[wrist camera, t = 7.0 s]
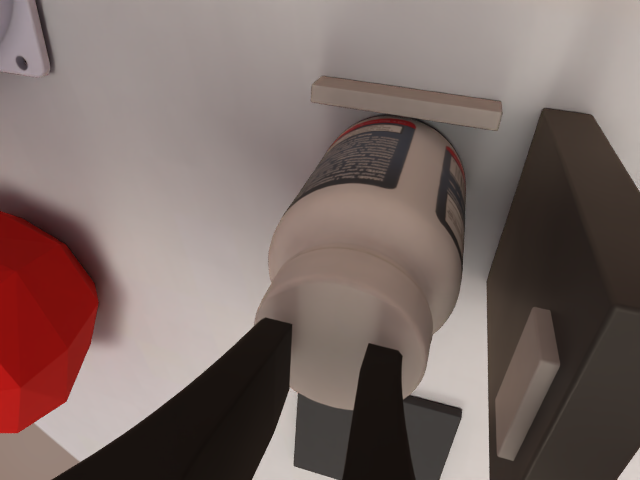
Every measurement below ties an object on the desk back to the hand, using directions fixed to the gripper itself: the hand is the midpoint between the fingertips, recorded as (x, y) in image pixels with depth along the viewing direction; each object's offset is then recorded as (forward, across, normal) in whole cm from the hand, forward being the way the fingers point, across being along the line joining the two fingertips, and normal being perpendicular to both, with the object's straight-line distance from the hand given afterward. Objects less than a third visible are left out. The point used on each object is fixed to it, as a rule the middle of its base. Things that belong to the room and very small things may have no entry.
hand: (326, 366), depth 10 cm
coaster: (+9, -1, +15) cm, 18 cm away
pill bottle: (+10, 0, 0) cm, 10 cm away
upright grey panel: (+9, -1, 0) cm, 9 cm away
